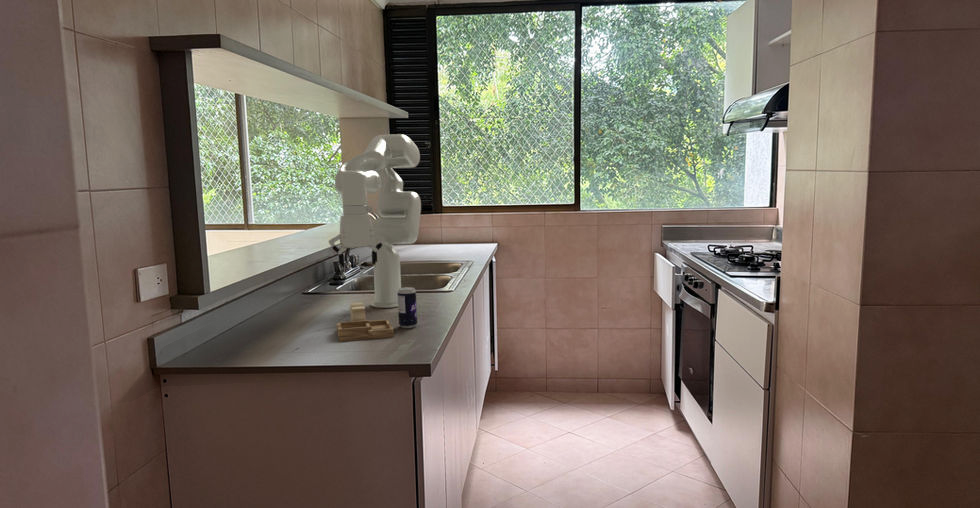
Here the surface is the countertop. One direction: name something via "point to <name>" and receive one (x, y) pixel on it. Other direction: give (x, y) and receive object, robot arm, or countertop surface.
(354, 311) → the wing block
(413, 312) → the beverage can
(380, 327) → the jig
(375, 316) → the countertop surface
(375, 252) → the robot arm
